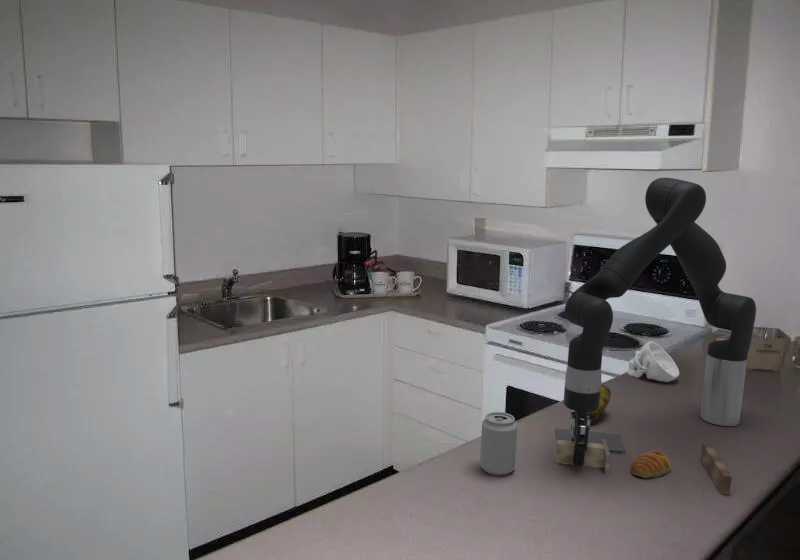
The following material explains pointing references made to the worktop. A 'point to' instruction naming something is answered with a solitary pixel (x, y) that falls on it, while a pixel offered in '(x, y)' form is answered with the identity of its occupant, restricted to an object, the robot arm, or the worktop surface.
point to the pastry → (651, 464)
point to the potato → (601, 403)
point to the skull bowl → (653, 364)
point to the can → (498, 443)
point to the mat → (595, 439)
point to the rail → (716, 468)
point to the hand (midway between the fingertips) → (577, 458)
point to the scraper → (592, 457)
